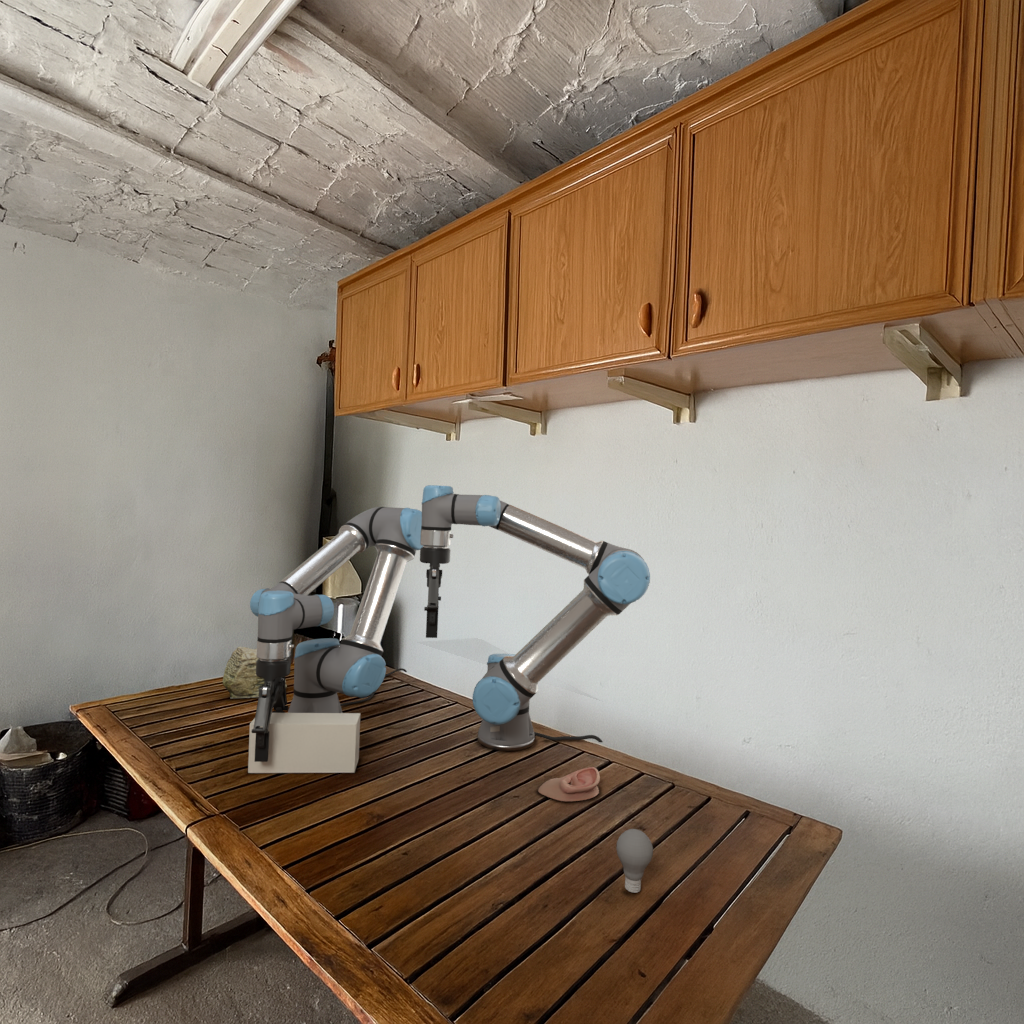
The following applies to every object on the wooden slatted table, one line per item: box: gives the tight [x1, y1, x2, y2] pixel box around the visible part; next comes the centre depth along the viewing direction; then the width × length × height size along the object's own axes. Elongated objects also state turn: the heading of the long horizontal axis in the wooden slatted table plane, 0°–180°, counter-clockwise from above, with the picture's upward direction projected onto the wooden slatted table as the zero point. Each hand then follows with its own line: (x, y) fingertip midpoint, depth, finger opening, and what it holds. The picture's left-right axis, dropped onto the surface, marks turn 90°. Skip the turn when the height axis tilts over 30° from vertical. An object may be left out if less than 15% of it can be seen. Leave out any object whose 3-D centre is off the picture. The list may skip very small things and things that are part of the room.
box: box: [247, 712, 361, 774], centre depth 148 cm, size 24×8×11 cm, turn 96°
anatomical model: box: [537, 766, 601, 802], centre depth 141 cm, size 13×4×12 cm
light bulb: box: [615, 828, 654, 894], centre depth 106 cm, size 6×6×10 cm
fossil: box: [222, 646, 288, 699], centre depth 198 cm, size 9×18×15 cm, turn 132°
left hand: (269, 749), depth 147 cm, fingers open, 13 cm apart
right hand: (431, 631), depth 159 cm, fingers open, 13 cm apart
